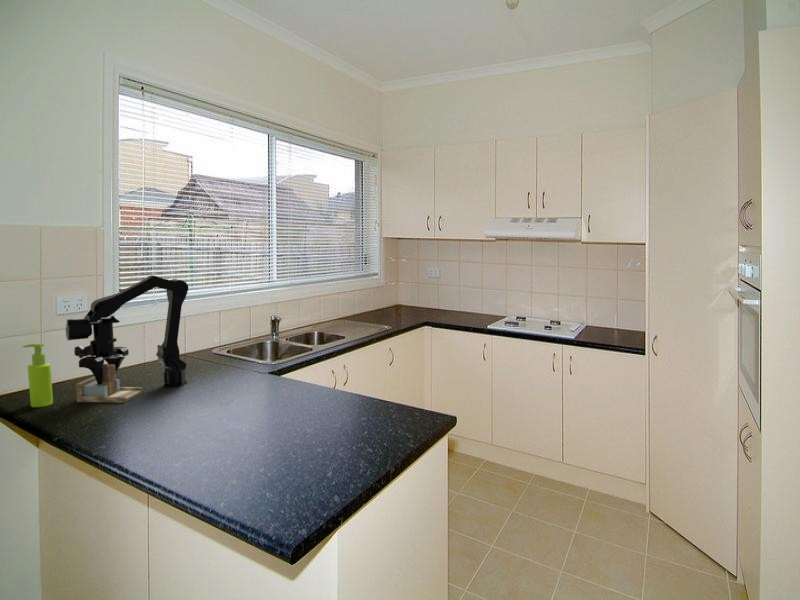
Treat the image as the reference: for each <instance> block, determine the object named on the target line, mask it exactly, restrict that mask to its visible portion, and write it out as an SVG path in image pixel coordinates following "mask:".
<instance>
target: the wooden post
mask: <svg viewBox="0 0 800 600" xmlns="http://www.w3.org/2000/svg"><path fill="white" fill-rule="evenodd" d="M103 365H107V366H106V370H105V374H104V379H103V382H102V384H98V383H97V385H107V388H108V396H111V395H112V394H114V393H116V392H117V388H116V379H117V373H116V370H115V364H108V363H104V364H103Z"/></svg>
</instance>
